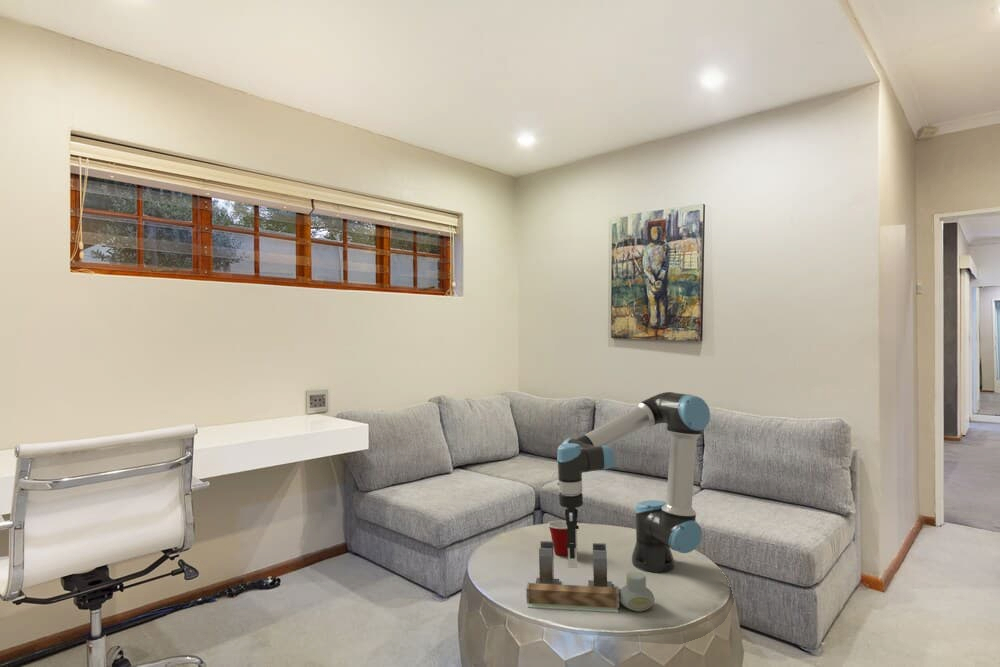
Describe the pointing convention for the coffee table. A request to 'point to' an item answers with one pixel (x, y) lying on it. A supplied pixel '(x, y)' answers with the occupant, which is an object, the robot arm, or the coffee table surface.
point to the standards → (548, 565)
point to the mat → (573, 607)
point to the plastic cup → (559, 537)
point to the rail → (573, 595)
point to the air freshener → (636, 593)
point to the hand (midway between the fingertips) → (573, 558)
